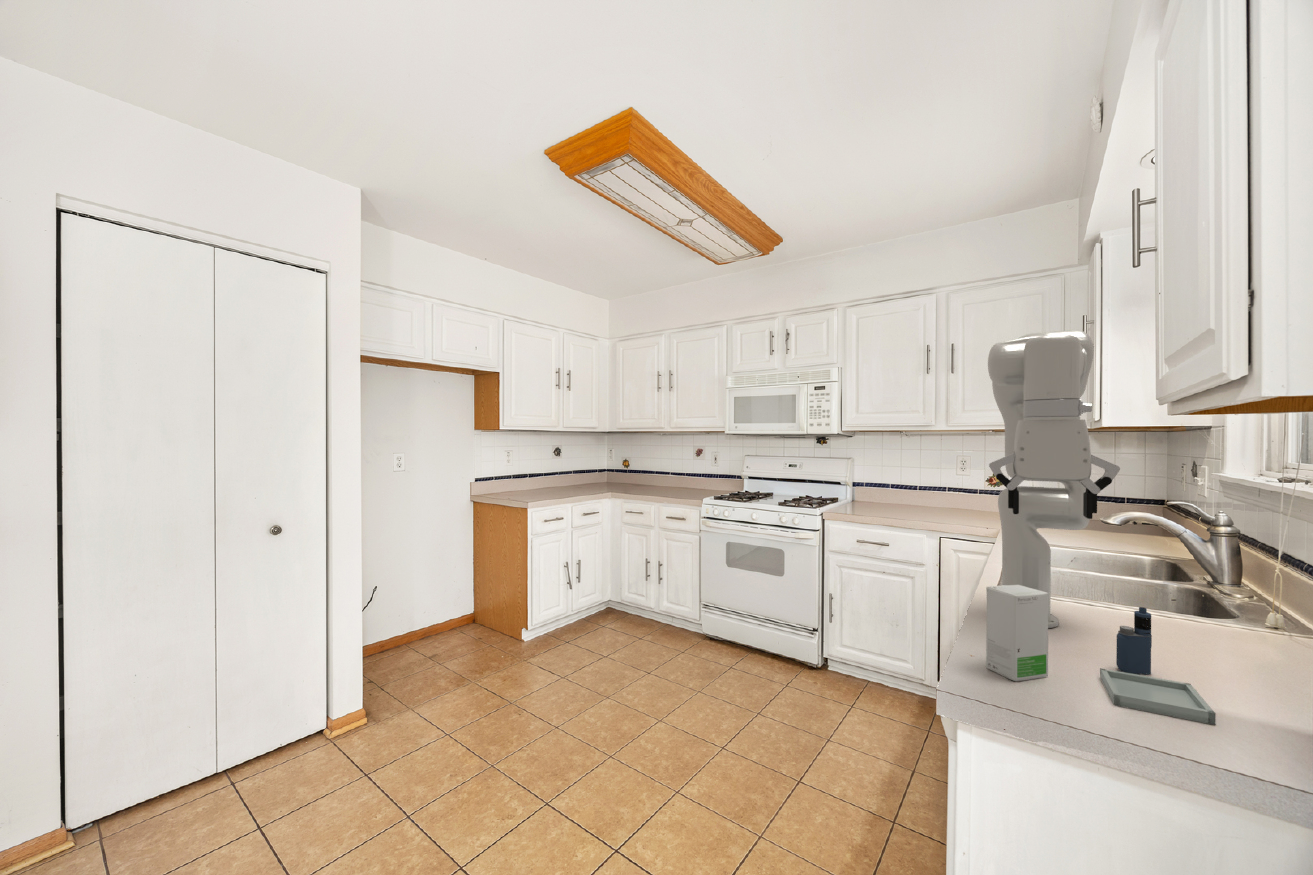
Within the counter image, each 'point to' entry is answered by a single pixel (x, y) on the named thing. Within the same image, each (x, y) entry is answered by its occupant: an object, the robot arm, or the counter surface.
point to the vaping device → (1135, 645)
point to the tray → (1156, 696)
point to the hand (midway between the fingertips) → (1050, 515)
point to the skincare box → (1017, 632)
